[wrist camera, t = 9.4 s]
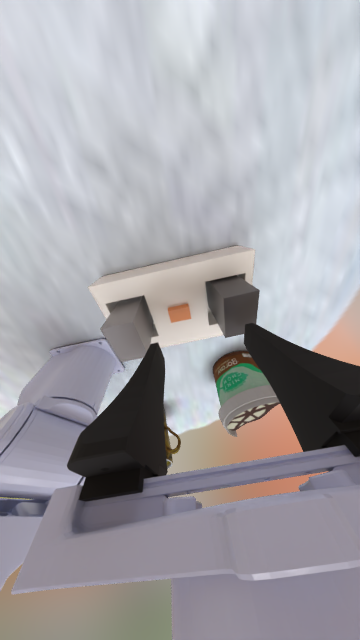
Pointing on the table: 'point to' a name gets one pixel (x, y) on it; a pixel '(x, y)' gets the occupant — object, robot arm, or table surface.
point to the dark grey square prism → (232, 304)
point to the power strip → (176, 292)
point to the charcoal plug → (129, 328)
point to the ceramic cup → (167, 444)
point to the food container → (242, 390)
